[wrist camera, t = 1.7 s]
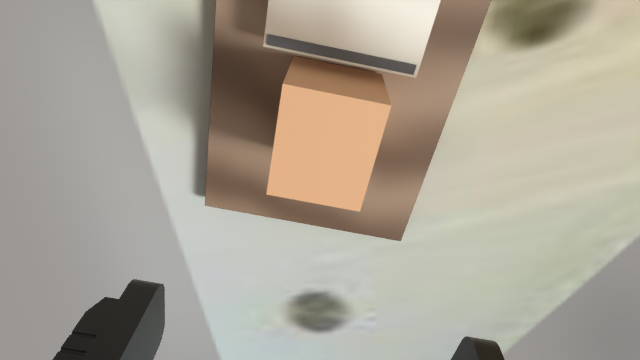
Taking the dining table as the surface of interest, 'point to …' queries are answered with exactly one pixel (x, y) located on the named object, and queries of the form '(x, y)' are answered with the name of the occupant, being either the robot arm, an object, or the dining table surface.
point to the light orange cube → (327, 133)
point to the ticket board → (345, 50)
